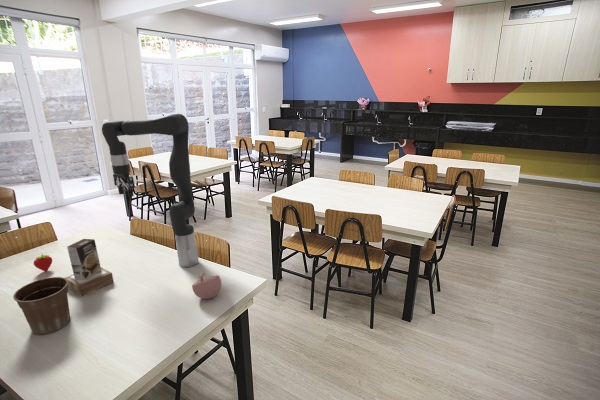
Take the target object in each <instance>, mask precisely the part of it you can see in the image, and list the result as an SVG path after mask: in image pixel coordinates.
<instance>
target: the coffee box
mask: <svg viewBox="0 0 600 400" xmlns="http://www.w3.org/2000/svg"><path fill="white" fill-rule="evenodd" d="M66 247H67V252H68V256H69V260H70V264H71V268H72V273H73V274H74V278H75V279H80V280H87V279H89V278H90V277H92V276H93V275H95V274H97V273H98V272H100V271H101V263H100V259H99V258H100V257H99V254H98V250H97V244H96V241H95V238H94V239H93V238H91V239H90V238H82V239H79V240H78V241H76V242H74V243H72V244H69V245H67V246H66Z"/></svg>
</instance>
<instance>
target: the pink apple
mask: <svg viewBox="0 0 600 400" xmlns="http://www.w3.org/2000/svg"><path fill="white" fill-rule="evenodd" d="M205 274H206V272H205V271H202V273H201V274H200V275H199V279H198V280H197V281H195V282H194V283H192V285H191V288H192V292H193V293H194V295H195V296H196V297H198V298H199V299H202V300H209V299H212V298H214V297H215V296H217V295H218V294H219V292H220V291H221V288H222V280H221V277H220V275H218V274H217V275H212V276H209V277H204V276H205ZM203 277H204V278H203Z"/></svg>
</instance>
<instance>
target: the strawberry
mask: <svg viewBox="0 0 600 400" xmlns="http://www.w3.org/2000/svg"><path fill="white" fill-rule="evenodd" d="M52 263H53V258H52V256H50V255H47V254H43V253H41V255H40V256H37V257H36V258H35V260H34V261H33V265H34V267H36V269H38V270H40V271H43V272H47V271H48V270H49V268H50V267H51V266H52Z"/></svg>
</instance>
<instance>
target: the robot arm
mask: <svg viewBox="0 0 600 400" xmlns="http://www.w3.org/2000/svg"><path fill="white" fill-rule="evenodd" d="M189 127H190V126H189V122H188V119H187V117H186V116H185V115H183V114H181V113H173V114H169V115H166V116H163V117H159V118H155V119H130V120H129V119H128V120H114V121H113V120H112V121H106V122H104V123H103V124H102V126H101V133H102V135H103V137H104V140H105V142H106V144H107V145H108V149H109V150H108V151H109V154H110V162H111V169H112V173H113V174H112V178H113V182H114V186H116V187H117V189H118V190H117V191H118V195H124V194H125V189H124V187H125V188H126V189H127V194H128V197H129V198H132V197H134V191H133V189H135V188H136V185H135V181H134V180H135V179H134V177H133V175H129V173H131V166H130V161H129V155H128V152H127V147H126V144H125V142H124V141H120V140H119V137H120V136H121V137H122V136H145V135H165V136H172V142H173V143H172V144H173V145H172V150H171V153H170V156H169V163H168V166H169V176H170V180H171V181H172V182H173V184H174V185H175V187H176V188H177V190H178V192H179V196H180V201H179V202H177V203H173V204H172V205H171V206H170V208H169V213H168V214H169V218H170V223H171V228H172V229H173V230H172V231H173V232H174V238H175V245H176V251H177V259H178V264H179V266H180V267H182V268H191V267H194V266H196V265H197V264H199V263H200V261H199V254H198V253H199V252H198V251H199V250H198V246H197V244H196V237H195V228H194V226H193V225H192V224H189V223H188V224H187V221H186V220H188V219H190V218H192V217H193V216H194V215H195V211H196V210H195V209H196V207H195V203H194V202H195V201H194V196H193V189H192V184H191V183H192V182H191V181H192V180H191V178H192V177H191V164H190V151H189V130H190V129H189Z"/></svg>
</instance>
